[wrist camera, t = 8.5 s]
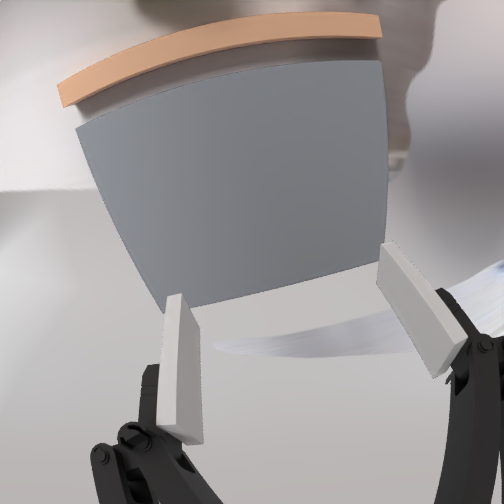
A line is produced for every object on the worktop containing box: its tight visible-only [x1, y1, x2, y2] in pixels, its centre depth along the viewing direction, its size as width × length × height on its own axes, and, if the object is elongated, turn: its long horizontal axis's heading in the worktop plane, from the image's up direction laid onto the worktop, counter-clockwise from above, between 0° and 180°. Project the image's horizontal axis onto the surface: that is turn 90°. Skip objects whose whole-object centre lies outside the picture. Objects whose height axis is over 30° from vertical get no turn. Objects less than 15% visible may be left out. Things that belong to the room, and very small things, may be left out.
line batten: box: [57, 12, 383, 108], centre depth 14 cm, size 2×24×2 cm, turn 101°
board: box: [76, 60, 388, 314], centre depth 22 cm, size 20×24×1 cm
